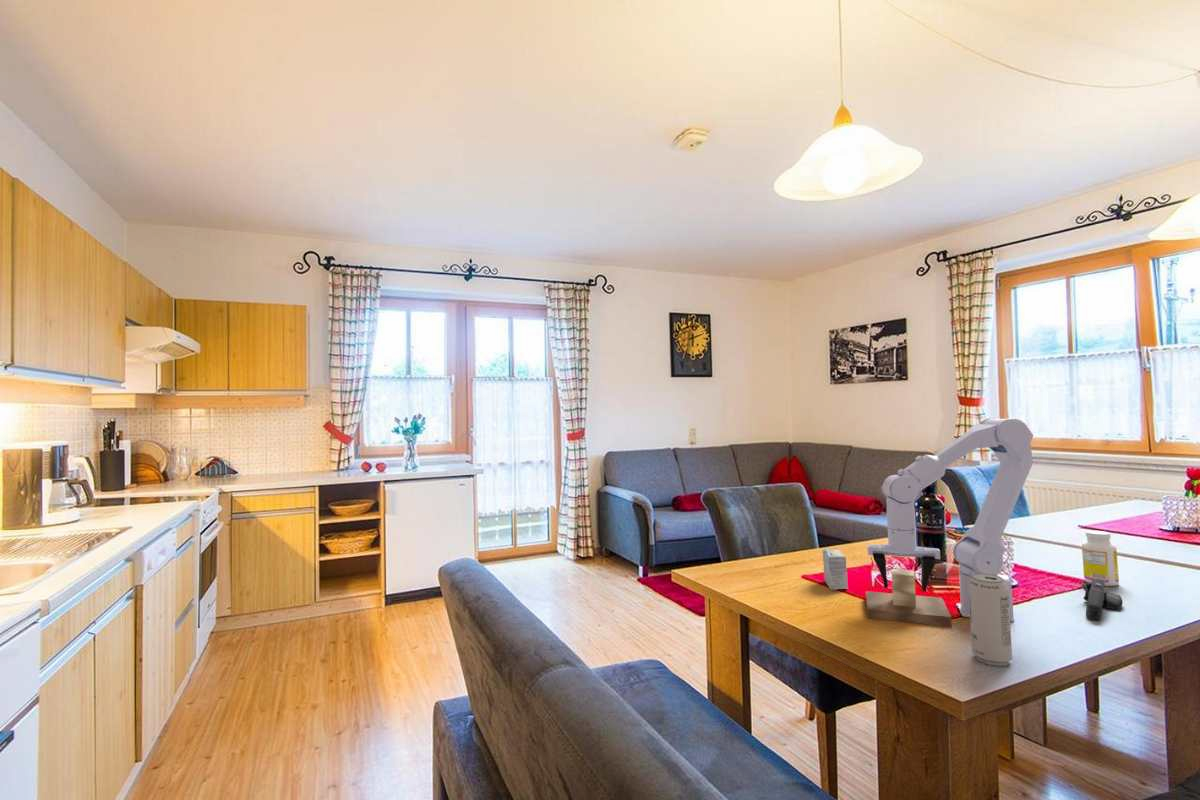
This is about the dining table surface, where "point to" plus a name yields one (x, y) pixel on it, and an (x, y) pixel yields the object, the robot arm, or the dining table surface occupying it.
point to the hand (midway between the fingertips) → (904, 588)
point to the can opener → (1099, 599)
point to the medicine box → (835, 569)
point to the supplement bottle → (1100, 558)
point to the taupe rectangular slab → (908, 609)
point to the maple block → (903, 588)
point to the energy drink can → (990, 619)
